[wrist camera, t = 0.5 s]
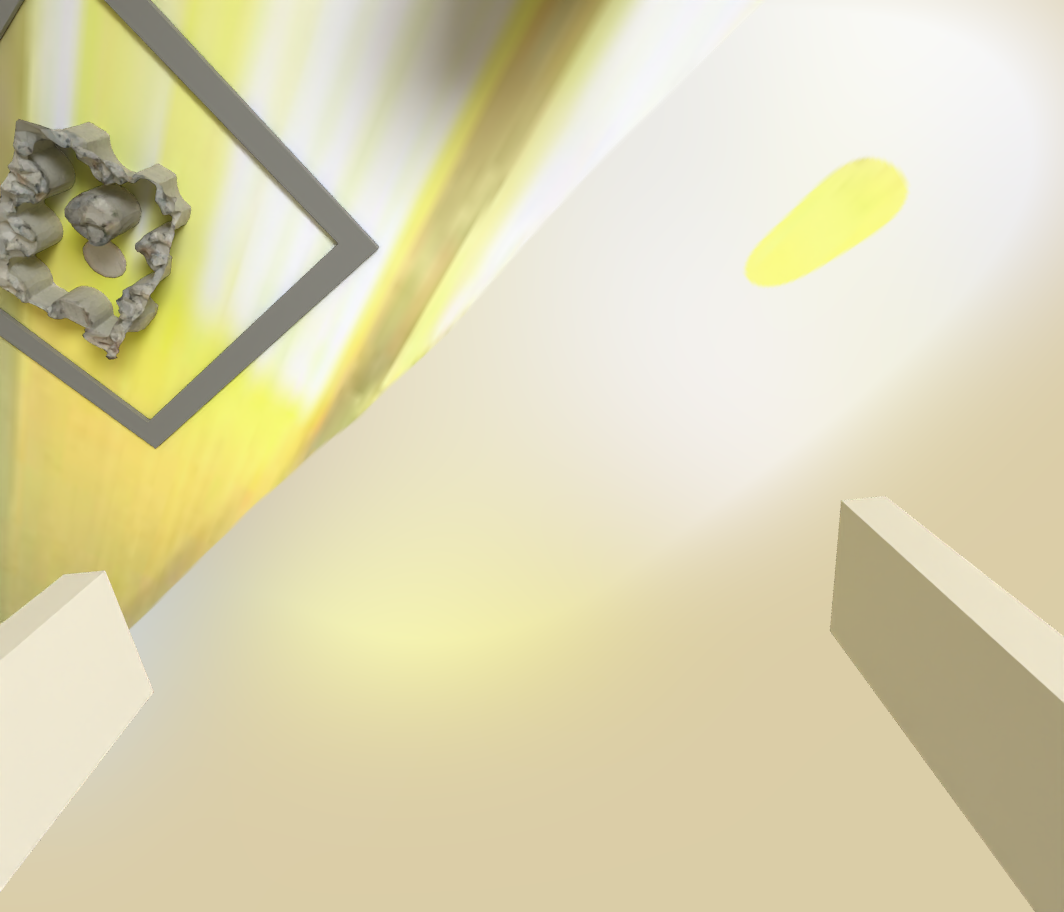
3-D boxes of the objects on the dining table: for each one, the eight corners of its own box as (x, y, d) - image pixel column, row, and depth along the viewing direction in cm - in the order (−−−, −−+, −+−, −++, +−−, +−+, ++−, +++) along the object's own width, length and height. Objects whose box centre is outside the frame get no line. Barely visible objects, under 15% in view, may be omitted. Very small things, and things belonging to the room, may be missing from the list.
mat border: (38, -121, 26) (33, -122, 26) (379, 246, 34) (377, 248, 34) (-152, 220, 34) (-157, 221, 34) (157, 446, 43) (155, 448, 43)
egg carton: (151, 338, 38) (113, 371, 35) (19, 263, 36) (-35, 291, 33) (214, 193, 33) (176, 216, 30) (64, 93, 31) (5, 106, 27)
